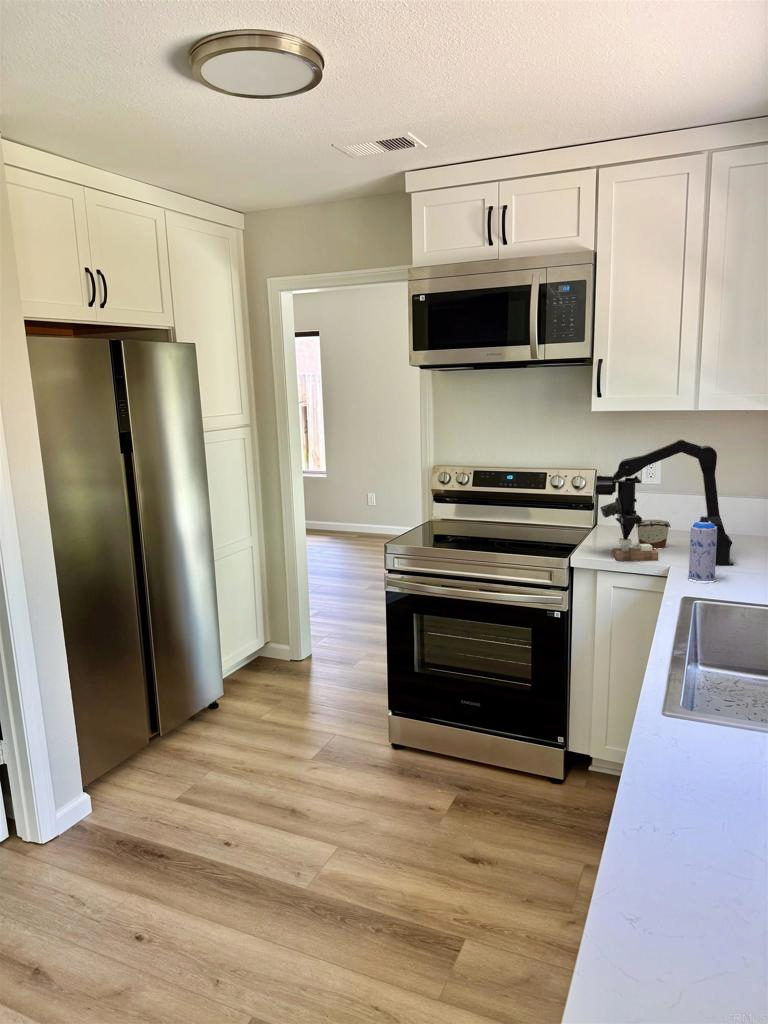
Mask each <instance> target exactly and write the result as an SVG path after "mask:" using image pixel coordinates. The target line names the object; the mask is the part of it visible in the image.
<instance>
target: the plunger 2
mask: <svg viewBox="0 0 768 1024" xmlns="http://www.w3.org/2000/svg"><path fill="white" fill-rule="evenodd" d="M638 548H639V549H640V550H641V551H652V546H651V545H650V544H639V543H638Z"/></svg>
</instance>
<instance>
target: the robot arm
mask: <svg viewBox="0 0 768 1024" xmlns="http://www.w3.org/2000/svg"><path fill="white" fill-rule="evenodd" d="M680 453H683V454H685V455H686V456H687V455H688V456H689V457H692V458H695V459H697V462H698V464H699V468H700V471H701V473H702V480H703V490H704V497H705V499H704V500H705V508H706V517H708V521H710V522H711V523H713V524H714V525H715V526H716V527H717V544H716V564H715V566H734V564H735V563H734V562H732V561H731V548H732V545H733V541H732V539H731V538H730V536H729V535H728V534H727V533H726V529H725V526H724V523H723V521H722V517H721V514H720V507H719V499H718V488H717V481H716V469H717V462H718V453H717V451H716V450H715V449H714V447H712V446H710V445H698V444H695V443H691V442H689V441H686V440H685V439H677V440H676V441H674V442H671V443H669V444H667V445H665V446H663V447H659V448H657V449H655V450H653V451H650V452H648V453H645V454H642V455H638V456H633V457H628V458H624V459H622V460H621V461H620V462H619V464H618V469H617V470H616V471H615V472H614V473H613V476H612V475H597V476H596V485H595V496H613V494H614V493H617V497H616V498H615V500H614V502H611V503H608V504H606V505H605V504H604V505H603V506H600V507H599V508H600V512H601V514H602V516H603V517H604V518H609V517H610V516H615V515H617V517H615V518H614V519H615V521H617V523H619V525H620V529H621V534H622V538H623V539H624V540H627V539H628V538H629V537H630V534H631V532H632V531H633V529H634V527H636V524H642V520H643V518H642V516H640V515H639V514H637V510H636V509H635V507H636V503H637V502H638V501H637V498H636V484H641V483H642V479H640V478H639V477H638V475H635V474H637V473H639V472H641V471H642V470H643V469H645V468H646V467H649V466H650V465H652V464H655V463H658V462H660V461H663V460H666V459H667V458H670V457H672V456H675V455H678V454H680ZM634 475H635V476H634ZM633 476H634V477H633ZM623 479H624V480H623ZM616 491H617V492H616Z"/></svg>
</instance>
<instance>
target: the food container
mask: <svg viewBox="0 0 768 1024" xmlns="http://www.w3.org/2000/svg"><path fill="white" fill-rule="evenodd" d="M669 528H670V529H671V523H670V521H667V520H662V519H661V520H660V519H642V524H635V529H637V536H638V540H637V541H638V545H639V544H650V545H651V546H652V548H656V549H655V550H659V549H658V548H662V549H661V550H665V549H664V548H666V549H667V541H668V535H669Z"/></svg>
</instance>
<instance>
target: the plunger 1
mask: <svg viewBox="0 0 768 1024" xmlns="http://www.w3.org/2000/svg"><path fill="white" fill-rule="evenodd" d="M632 543H633V541H632V539H631V538H629V537H628V539H627V540H624V539H623V537H621V538H620V537H619V538H618V544H620V548H621V551H629V548H630V546H632V545H633V544H632Z"/></svg>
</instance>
